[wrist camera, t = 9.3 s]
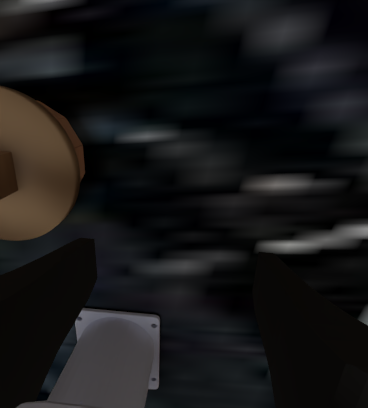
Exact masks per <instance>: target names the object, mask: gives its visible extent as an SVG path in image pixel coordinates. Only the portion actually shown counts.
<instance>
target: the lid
mask: <svg viewBox="0 0 368 408" xmlns="http://www.w3.org/2000/svg"><path fill="white" fill-rule="evenodd" d="M79 189H80V168H79V161H78V158H77V154H76V151H75V149H74V146H73V144H72V141H71V140H70V138H69V136H68V134H67V132H66V131H65V129H64V128H63V127H62V125H61V124H60V122H59V121H58V120H57V119H56V118H55V117H54V116H53V115H52V113H51V112H49V111H48V110H47V109H46V108H45V107H44V106H43V105H41V104H40V103H39V102H37V101H36V100H34V99H33V98H31V97H29V96H28V95H26V94H24V93H22V92H19V91H17V90H14V89H12V88H8V87H4V86H0V239H4V240H28V239H32V238H36V237H39V236H41V235H44V234H46V233H47V232H49V231H51V230H52V229H53V228H54V227H56V226H57V225H58V224H59V223H60V222H61V221H62V220H64V219H65V218H66V216H67V215H68V214H69V213H70V211H71V210H72V208H73V207H74V205H75V202H76V200H77V197H78V193H79Z"/></svg>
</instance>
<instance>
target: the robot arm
mask: <svg viewBox="0 0 368 408" xmlns="http://www.w3.org/2000/svg"><path fill="white" fill-rule="evenodd" d="M96 280H97V268H96V256H95V243H94V239H88V238H79V239H77V240H75V241H72V242H70V243H68V244H66V245H64V246H63V247H61V248H59V249H57V250H55V251H53V252H51V253H49V254H47V255H45V256H43V257H41V258H39V259H37V260H35V261H32V262H30V263H28V264H26V265H24V266H22V267H20V268H17V269H15V270H13V271H10V272H8V273H5V274H3V275H0V408H144V407H145V402H146V397H147V392H148V389H157V388H158V386H159V353H160V317H159V316H157V315H153V314H143V313H132V312H121V311H111V310H100V309H90V308H83V307H84V306H85V304H86V302H87V300H88V299H89V297H90V294H91V292H92V290H93V287H94V285H95V282H96ZM252 293H253V301H254V309H255V315H256V319H257V323H258V326H259V330H260V334H261V338H262V342H263V346H264V349H265V353H266V357H267V361H268V365H269V370H270V374H271V381H272V387H273V393H274V400H275V407H276V408H368V326H367V325H366V324H364V323H362V322H360V321H359V320H357V319H355V318H353V317H352V316H350V315H349V314H347V313H345V312H344V311H342V310H341V309H340V308H338V307H337V306H335V305H334V304H332V303H331V302H329V301H328V300H327V299H325V298H324V297H323V296H321V295H320V294H319V293H317V292H316V291H315V290H314V289H312V288H311V287H310V286H309V285H308V284H306V283H305V282H304V281H303V280H302V279H301V278H300V277H298V276H297V275H296V274H295V273H294V272H293V271H292V270H291V269H290V268H289V267H288V266H287V265H286V264H284V263H283V262H282V261H281V260H280V259H279V258H278V257H277V256H276V255H275V254H274V253H263V252H259V254H258V260H257V266H256V272H255V278H254V284H253V290H252ZM80 317H81V318H80ZM74 322H75V327H76V334H77V344H76V346H75V348H74V350H73V352H72V354H71V356H70V358H69V359H68V361H67V363H66V365H65V367H64V369H63V371H62V373H61V375H60V377H59V379H58V381H57V382H56V384H55V386H54V388H53V390H52V392H51V394H50V396H49V398H48V400H47V401H36V399H37V396H38V394H39V392H40V389H41V387H42V385H43V383H44V380H45V378H46V376H47V374H48V371H49V369H50V367H51V365H52V363H53V361H54V358H55V356H56V354H57V352H58V350H59V348H60V346H61V345H62V343H63V341H64V339H65V338H66V336H67V334H68V332H69V331H70V329H71V327H72V326H73V324H74ZM153 324H156V325H153ZM35 401H36V402H35Z"/></svg>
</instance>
